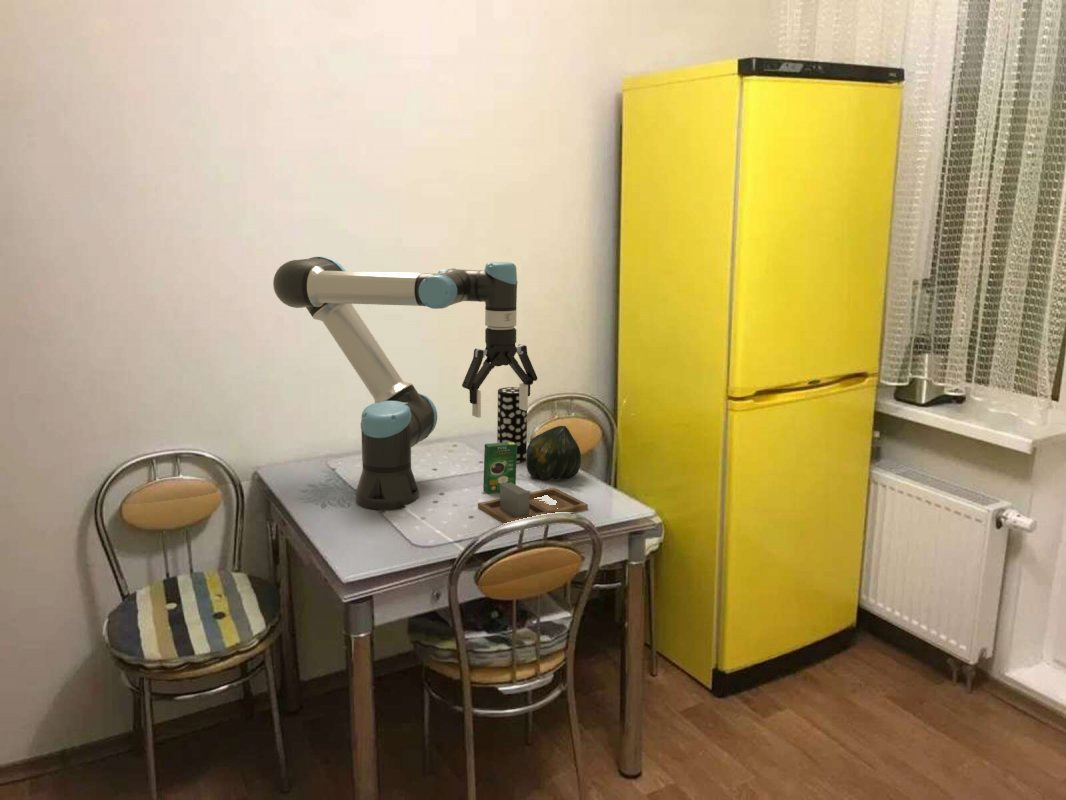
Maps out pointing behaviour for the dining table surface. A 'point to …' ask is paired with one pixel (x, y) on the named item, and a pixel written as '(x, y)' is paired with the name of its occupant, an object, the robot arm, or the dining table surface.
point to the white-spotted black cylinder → (512, 421)
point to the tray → (536, 505)
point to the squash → (553, 455)
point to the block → (514, 500)
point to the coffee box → (499, 465)
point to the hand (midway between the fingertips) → (500, 413)
